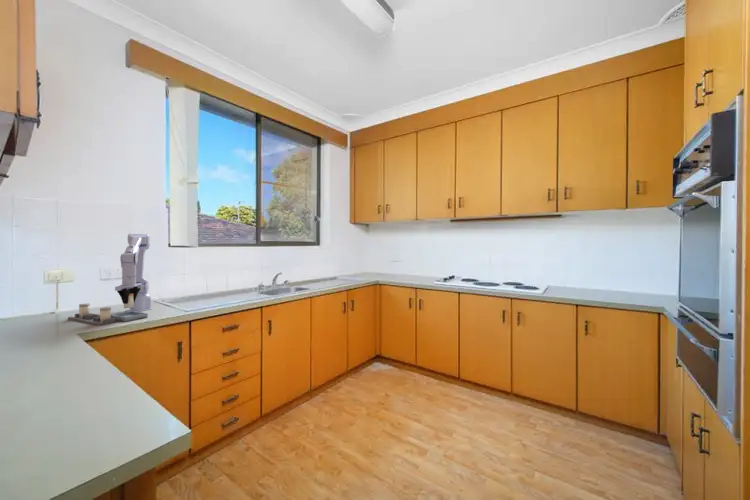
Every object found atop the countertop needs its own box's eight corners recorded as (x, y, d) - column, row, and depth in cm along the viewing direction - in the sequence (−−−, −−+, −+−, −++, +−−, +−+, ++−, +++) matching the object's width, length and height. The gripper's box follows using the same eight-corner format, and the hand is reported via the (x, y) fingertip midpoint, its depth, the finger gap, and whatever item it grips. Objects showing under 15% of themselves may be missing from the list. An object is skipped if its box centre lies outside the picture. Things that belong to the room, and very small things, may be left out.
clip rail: (91, 315, 171) (91, 311, 171) (121, 321, 161) (121, 317, 161) (68, 319, 162) (68, 315, 162) (98, 325, 152) (98, 321, 152)
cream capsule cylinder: (87, 316, 168) (86, 303, 167) (91, 317, 166) (91, 304, 166) (77, 318, 164) (77, 304, 164) (81, 319, 162) (81, 305, 162)
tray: (132, 314, 174) (132, 310, 174) (147, 317, 169) (147, 313, 169) (109, 318, 164) (109, 314, 164) (125, 321, 159) (125, 317, 159)
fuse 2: (107, 320, 161) (107, 306, 160) (112, 321, 159) (112, 307, 159) (97, 322, 157) (97, 308, 157) (102, 323, 155) (103, 309, 155)
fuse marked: (128, 306, 169) (128, 293, 169) (135, 306, 168) (135, 293, 168) (121, 308, 165) (121, 294, 164) (129, 308, 164) (129, 294, 164)
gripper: (133, 274, 174) (133, 299, 174) (109, 277, 159) (109, 305, 159) (145, 275, 173) (145, 300, 173) (122, 278, 159) (122, 305, 159)
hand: (129, 302), depth 166 cm, fingers closed on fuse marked, 4 cm apart
